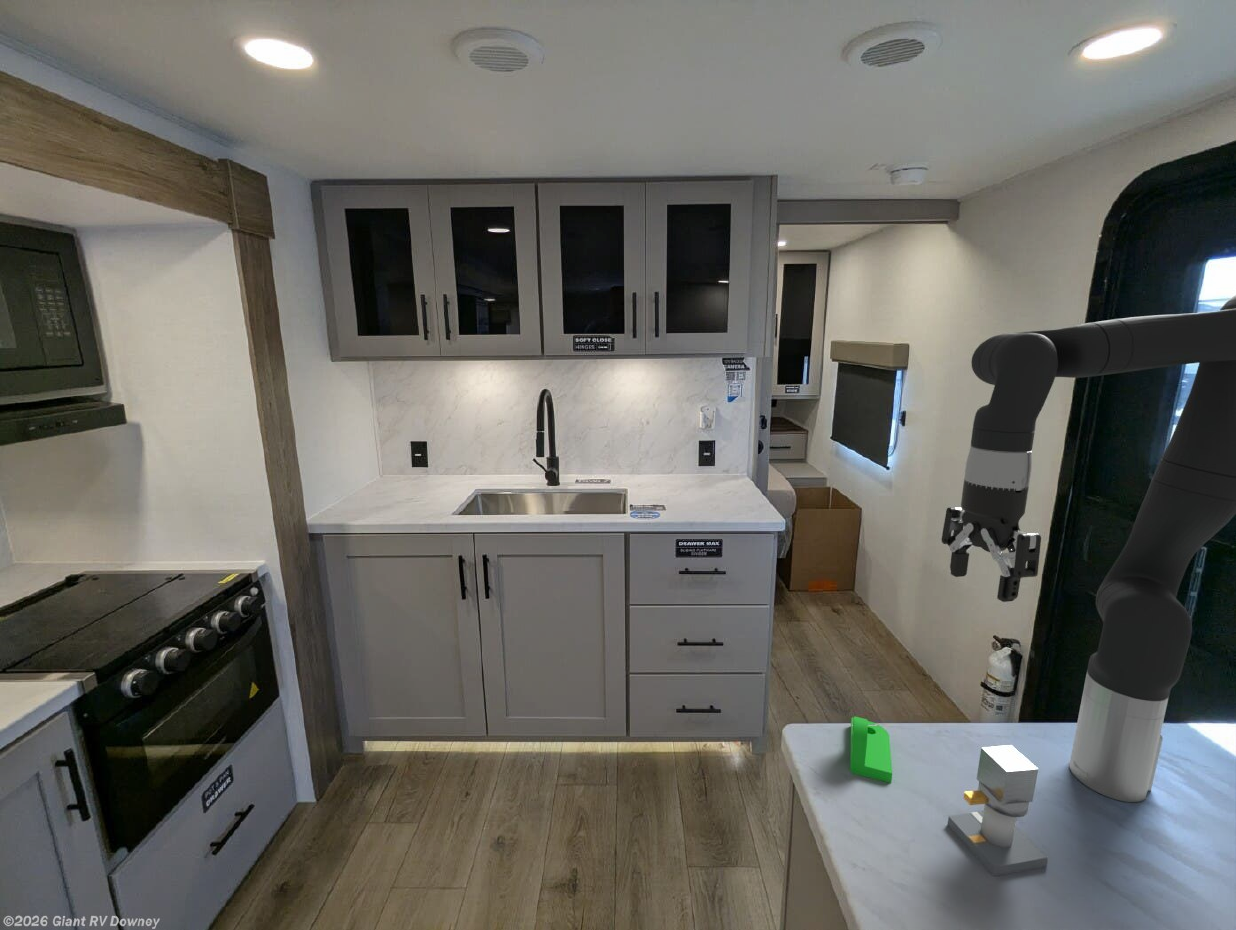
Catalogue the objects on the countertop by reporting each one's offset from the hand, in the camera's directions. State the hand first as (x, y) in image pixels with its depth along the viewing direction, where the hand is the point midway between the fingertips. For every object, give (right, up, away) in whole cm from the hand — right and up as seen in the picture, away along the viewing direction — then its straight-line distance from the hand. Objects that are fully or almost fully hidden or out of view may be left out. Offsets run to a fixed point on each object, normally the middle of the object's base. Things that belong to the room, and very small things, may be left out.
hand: (980, 587), depth 80 cm
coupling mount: (-1, -35, -4) cm, 35 cm away
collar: (-2, -28, -6) cm, 28 cm away
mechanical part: (-10, -32, +13) cm, 36 cm away
